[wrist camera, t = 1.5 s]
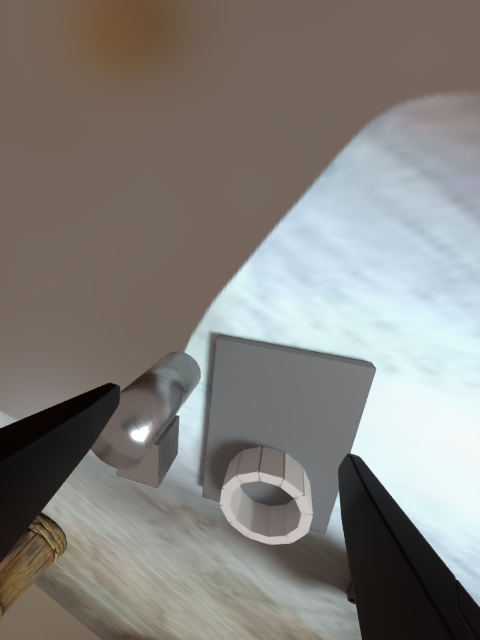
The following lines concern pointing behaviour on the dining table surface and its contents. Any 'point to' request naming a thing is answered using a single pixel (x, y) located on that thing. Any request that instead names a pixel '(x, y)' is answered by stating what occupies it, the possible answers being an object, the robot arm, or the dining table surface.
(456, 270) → the dining table surface
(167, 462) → the brushed steel cylinder
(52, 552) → the wooden mug
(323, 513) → the duct plate
